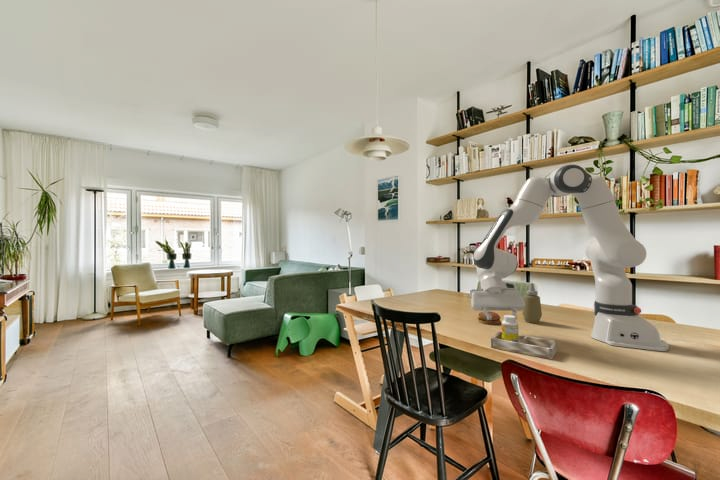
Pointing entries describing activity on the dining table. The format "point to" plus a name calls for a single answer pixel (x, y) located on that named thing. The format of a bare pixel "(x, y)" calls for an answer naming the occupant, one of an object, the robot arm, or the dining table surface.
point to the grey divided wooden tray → (526, 345)
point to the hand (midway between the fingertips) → (502, 319)
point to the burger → (494, 320)
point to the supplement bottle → (510, 329)
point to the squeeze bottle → (532, 306)
